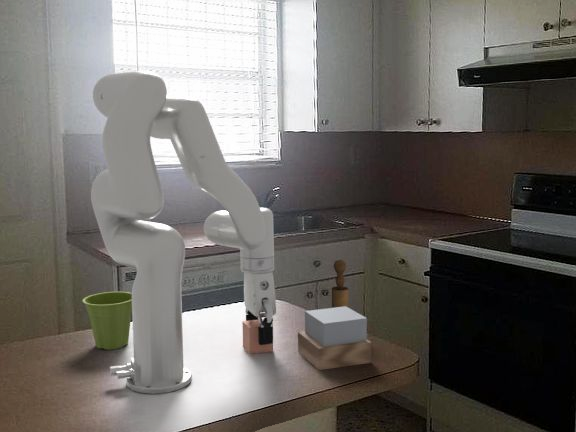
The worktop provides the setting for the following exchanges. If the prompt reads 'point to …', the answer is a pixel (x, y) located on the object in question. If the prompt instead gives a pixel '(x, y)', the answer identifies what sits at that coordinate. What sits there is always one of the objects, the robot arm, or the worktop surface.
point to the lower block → (333, 353)
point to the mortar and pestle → (339, 286)
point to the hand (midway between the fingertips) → (259, 337)
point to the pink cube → (253, 338)
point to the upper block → (335, 326)
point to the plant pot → (110, 318)
